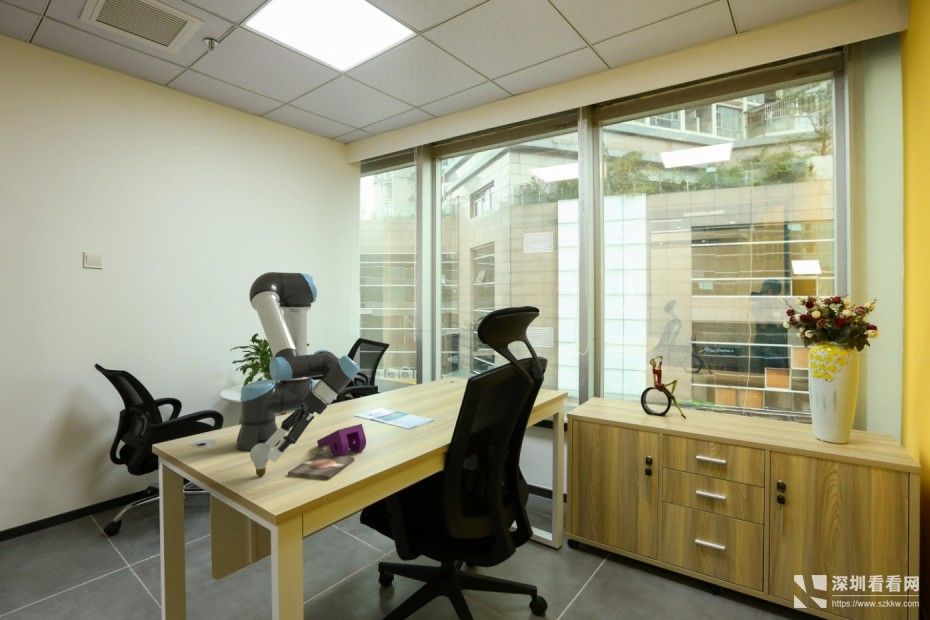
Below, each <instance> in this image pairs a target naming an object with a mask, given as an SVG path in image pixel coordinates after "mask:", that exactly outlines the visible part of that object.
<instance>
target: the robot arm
mask: <svg viewBox="0 0 930 620" xmlns="http://www.w3.org/2000/svg"><path fill="white" fill-rule="evenodd" d="M317 288H318V287H317V283H316V281H315V280H314V278H313V276H312V275H310V274H309V273H303V272H276V271H269V272H268V271H267V272H264V273H262V274H261V275H259V276H258V277H257V278H256V279H255V280H254V281H253V283H252V284H251V287H250V289H249V294H248V296H249V301H250V304H251V307H252V308H253V309H254V311H256V312H257V314H258V318H259V321H260V323H261V325H262V328H263V332H264V335H265V337H266V340H267V343H268V346H269V348H270V351H271V355H272V356H273V357H272V358H271V359H270V361H269V367H268V368H269V374H270V377H271V379H265V380H264V379H262V380H257V381H253V382H250V383H246V384H245V385H244V386H243V387H241V391H240V397H239V398H240V399H239V400H240V421H241V422H240V423H241V425H240V428H239V432H238V434H237V439H236V441H235V448H236V449H237V450H239V451H244V452H247V451H249V452H251V449H252V448H253V447H254V446H255V445H257V444H260V443H264V444H267V445H268V446H269V447H270V449H271V453H270V454H269V455H268V456H267V457H268V458H269V460H271V461H272V462H274V463H275V462H277V460H278V459H279V458H280V457H281V456H282V455H283V454H284V452H285V451H287V449H288V448H289V447H290V446H291V445H292V444H293V445H295V444H296V443H297V442H298V440H299V438H300V437H301V436H302V434H303V433H304V432H305V430H306V429H307V427H308V426H309V425H310V424H311V422H312V421H313V420H314V418H315V416H314V414H315V413H316V414H318V415H321V414H322V413H323V412H324V411H325V410H326V409H327V408H328V405H330V404H331V403H332V402H333V401H335V400H337V396H338V395H339V394H341V392H342V391H343V390H344V389H345V388H346V387H347V386H348V385H349V383H351V382H352V380H354V379H355V377H356V376H357V374H358V373H359V372H360V366H359V365H358V364H357V363H356V362H355V361H353V360H352V359H351V358H350V357H349V356H347V355H342V356H341V357H340V358H339V357H338V356H336V355H335V354H334V353H333V352H331V351H329V350H327V349H319V350H317V351H315V352H314V353H313V354H308V347H307V346H308V311H310V310H311V308H312V304H313V303H315V302H316V301H317V297H318V289H317ZM316 377H322V378H320V380H318V382H317V383H316V382H315V380H314V379H313V378H316ZM275 381H276V382H275ZM289 412H292V413H291V414H290V415H289V416H287V417H286V418H285V419H284V420H282V421H281V424H280V426H279V428H278V425H277V422H276V415H277V414H283V413H289ZM286 434H287V435H286Z"/></svg>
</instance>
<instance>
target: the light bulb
mask: <svg viewBox="0 0 930 620" xmlns="http://www.w3.org/2000/svg"><path fill="white" fill-rule="evenodd" d="M271 452H272V448H270V447H269V446H268V445H267V444H264V443H260V444H257V445H255V446H254V447H253V448H252V449H251V451H249V458H250V460H251V462H253V465H254V467H255V475H256V476H258V477H263V476H264V475H265V474H266V470H267V465H268V461H269V460H270V459H269V458H268V457H267V456H268V455H269V454H270V453H271Z"/></svg>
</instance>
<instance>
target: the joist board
mask: <svg viewBox="0 0 930 620" xmlns="http://www.w3.org/2000/svg"><path fill="white" fill-rule="evenodd" d="M354 462H355V457H354V456H333V455H332V454H331V455H330V454H320V453H319V454H315V455H313V456H312V457H310V458H308V459H306V460H304V461H303V462H301V463H299V465H297V466H295V467H294V468H292V469H290V470H289V471H288V472H287V476H288V477H297V478H307V479H317V480H327V481H330V480H331V479H332V478H334V477H335V476H337V475H338V474H340V473H341V471H343V470H344V469H345V468H347V467H348V466H350V465H351V464H352V463H354Z"/></svg>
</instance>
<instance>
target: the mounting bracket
mask: <svg viewBox="0 0 930 620" xmlns="http://www.w3.org/2000/svg"><path fill="white" fill-rule="evenodd" d="M316 443H317V447H318V448H322V447H325V446H329V451H330V454H331V455H332V456H345V457H347V455H348V453H349V450H350V451H351V452H353V453H359V452H362V451H364V450H365V448H366V446H367V438H366V434H365V430H364V427H363V423H360V424H357V425H352V426H347V427H344V428H339V429H337V430H335V431H334V432H331V433H329V434H328V435H326V436H324V437H322V438H320V439H318V440H316Z"/></svg>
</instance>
